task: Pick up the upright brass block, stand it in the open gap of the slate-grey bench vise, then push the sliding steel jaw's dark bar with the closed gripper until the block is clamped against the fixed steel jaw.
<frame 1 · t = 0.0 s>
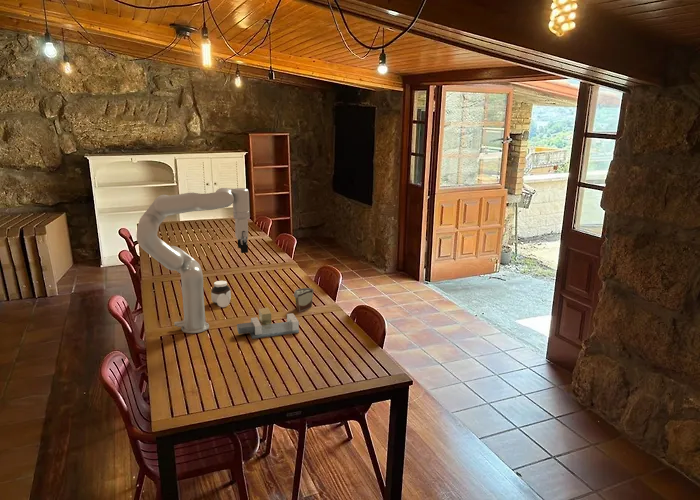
hand: (242, 250, 235), 37 cm above the table, tool pointing down, fingers open, 9 cm apart
brass block: (265, 322, 245), on the table
vise jaw: (248, 326, 230), point 4 cm above the table, slide at 0.0 cm
vise: (273, 331, 235), on the table
food container: (301, 308, 264), on the table
spread jar: (222, 304, 268), on the table
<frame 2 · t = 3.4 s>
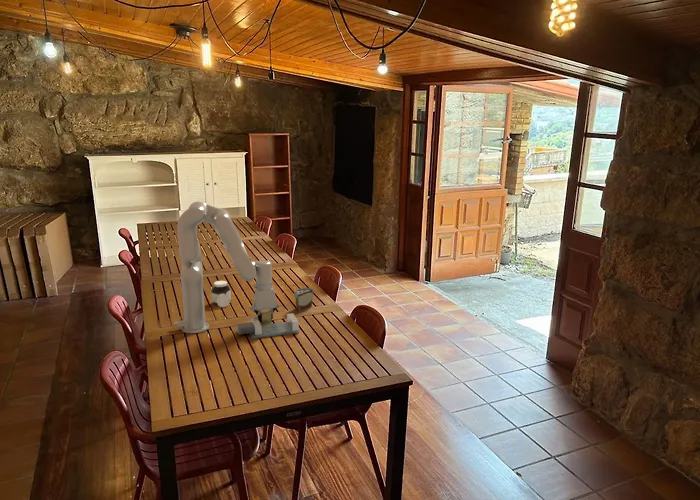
hand: (265, 320, 245), 1 cm above the table, tool pointing down, fingers closed on brass block, 4 cm apart
brass block: (265, 322, 245), on the table, touching gripper
everything else where it was.
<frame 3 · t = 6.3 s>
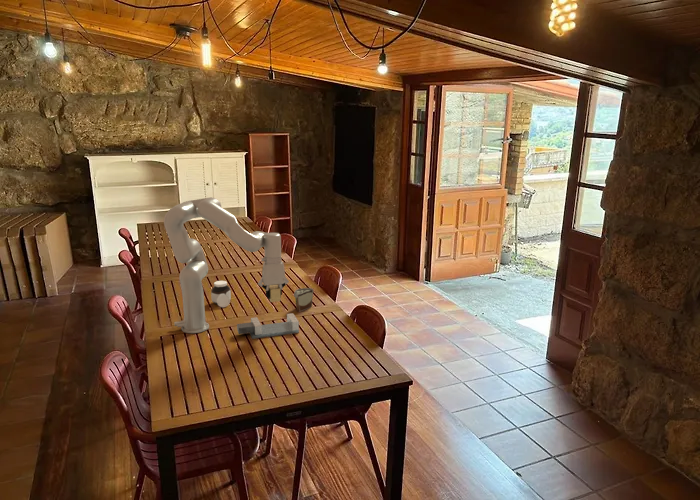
hand: (273, 297, 231), 17 cm above the table, tool pointing down, fingers closed on brass block, 4 cm apart
brass block: (273, 298, 231), point 16 cm above the table, touching gripper
everything else where it was.
when the fingers open (4 cm above the table, at t = 9.1 s): brass block drops 1 cm, resting on vise.
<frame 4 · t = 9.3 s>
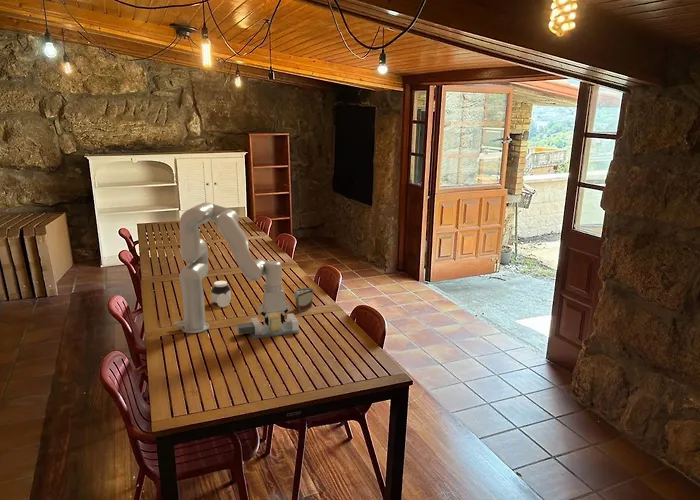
hand: (274, 323, 234), 4 cm above the table, tool pointing down, fingers open, 6 cm apart
brass block: (274, 328, 235), point 1 cm above the table, touching vise
everything else where it was.
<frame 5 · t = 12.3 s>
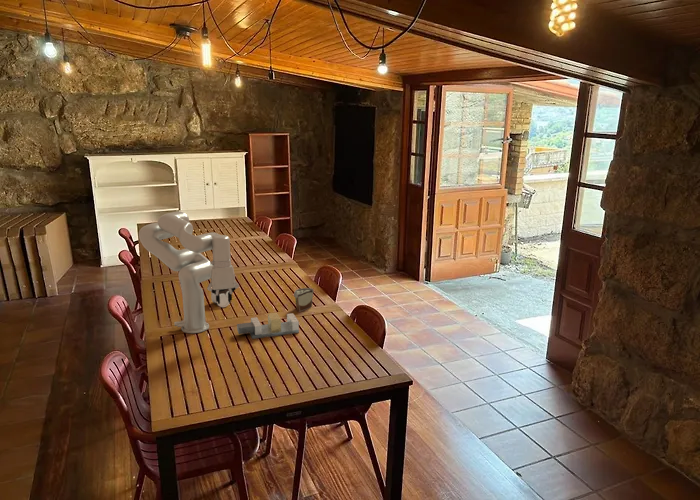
hand: (224, 301, 223), 17 cm above the table, tool pointing down, fingers open, 4 cm apart
nothing on the table moved.
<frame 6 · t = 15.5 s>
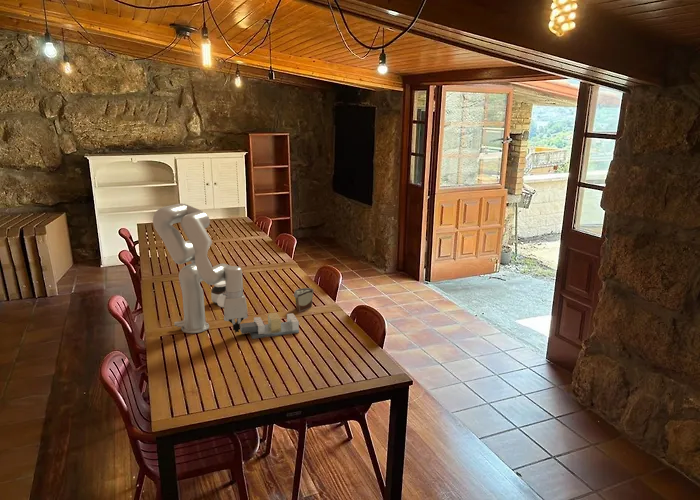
hand: (236, 331, 228), 2 cm above the table, tool pointing down, fingers closed
vise jaw: (251, 326, 230), point 4 cm above the table, slide at 1.4 cm, touching gripper
everything else where it was.
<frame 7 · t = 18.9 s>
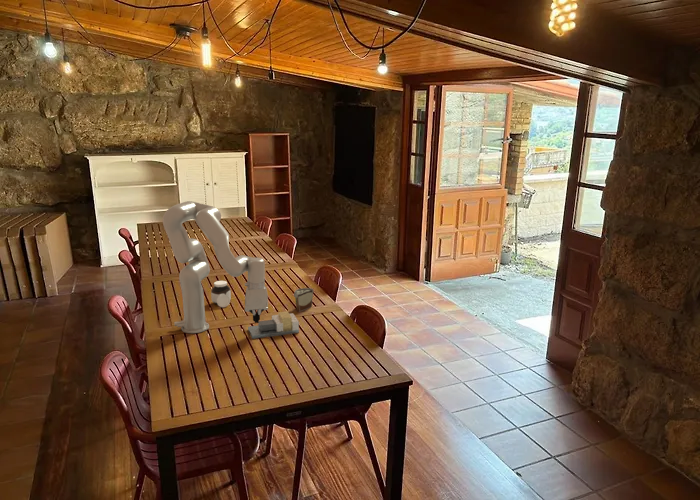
hand: (256, 321, 231), 6 cm above the table, tool pointing down, fingers closed
brass block: (285, 326, 236), point 1 cm above the table, touching vise, vise jaw
vise jaw: (270, 324, 233), point 4 cm above the table, slide at 10.0 cm, touching brass block
everything else where it was.
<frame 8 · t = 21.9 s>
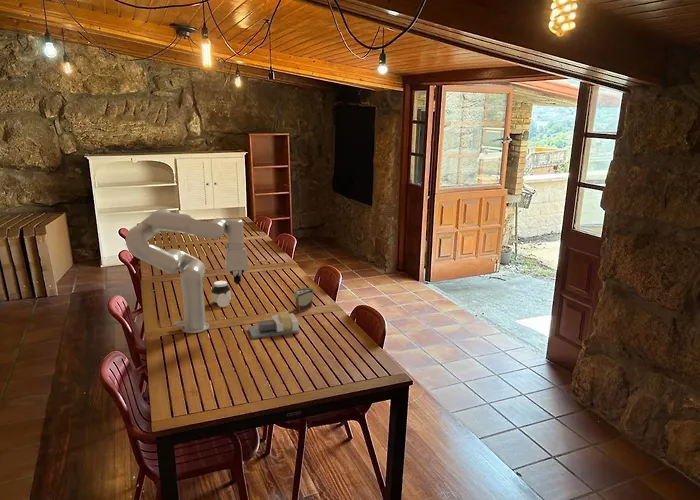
hand: (237, 283, 233), 22 cm above the table, tool pointing down, fingers closed
nothing on the table moved.
at the end: vise jaw slide at 10.0 cm; brass block 3.8 cm from the vise jaw (horizontally); brass block 0.1 cm from the target spot, point 1.5 cm above the table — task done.
